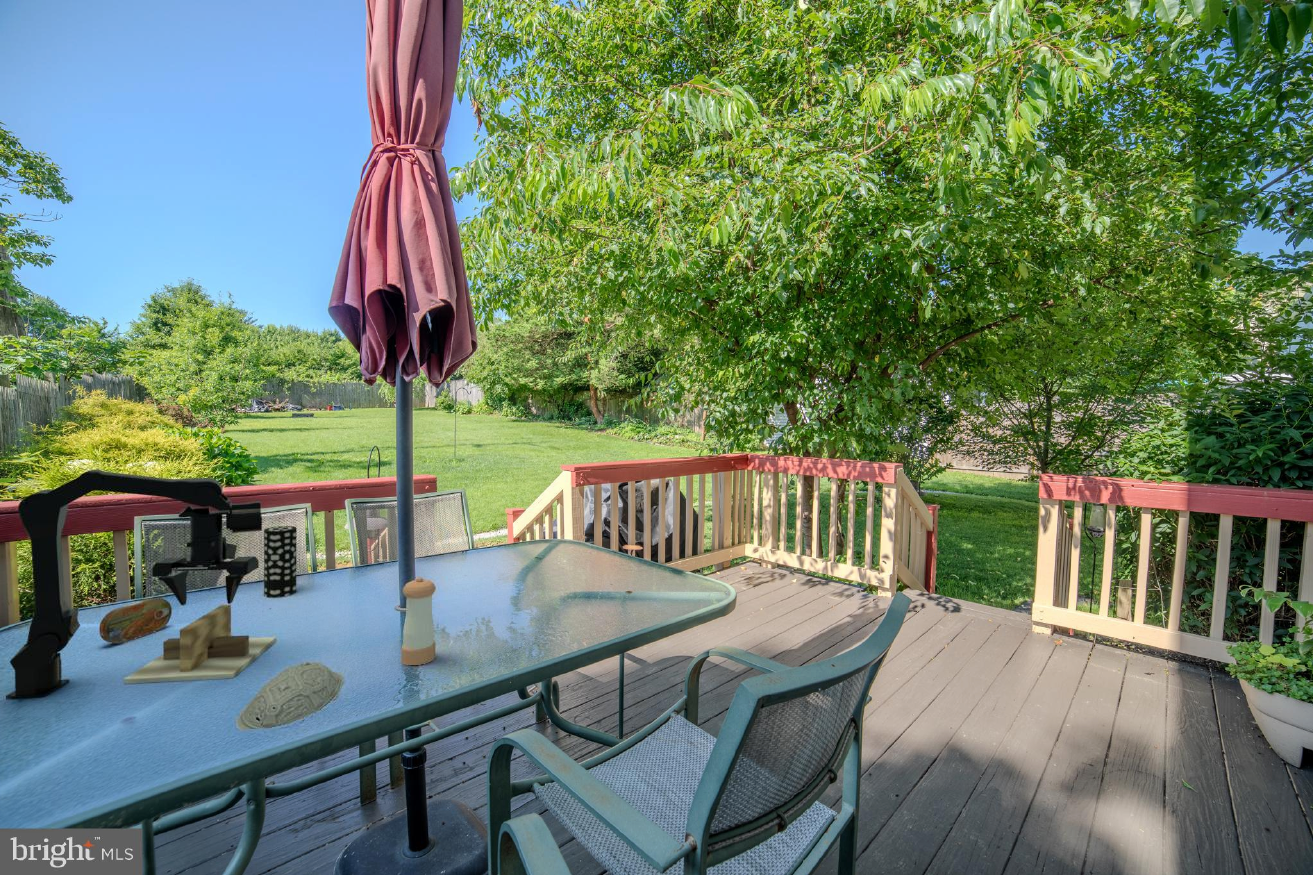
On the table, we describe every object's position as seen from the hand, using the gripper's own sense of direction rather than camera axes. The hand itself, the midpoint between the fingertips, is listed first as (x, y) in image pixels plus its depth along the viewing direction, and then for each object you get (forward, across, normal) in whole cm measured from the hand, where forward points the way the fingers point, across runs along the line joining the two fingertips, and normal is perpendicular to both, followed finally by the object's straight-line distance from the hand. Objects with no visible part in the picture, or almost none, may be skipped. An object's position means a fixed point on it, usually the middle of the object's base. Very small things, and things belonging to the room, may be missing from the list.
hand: (207, 604), depth 129 cm
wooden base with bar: (+13, 0, 0) cm, 13 cm away
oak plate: (+12, 0, 0) cm, 12 cm away
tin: (+13, +24, -17) cm, 32 cm away
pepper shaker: (+13, -46, +5) cm, 48 cm away
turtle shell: (+14, -26, +21) cm, 36 cm away
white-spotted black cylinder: (+13, +5, -49) cm, 51 cm away
